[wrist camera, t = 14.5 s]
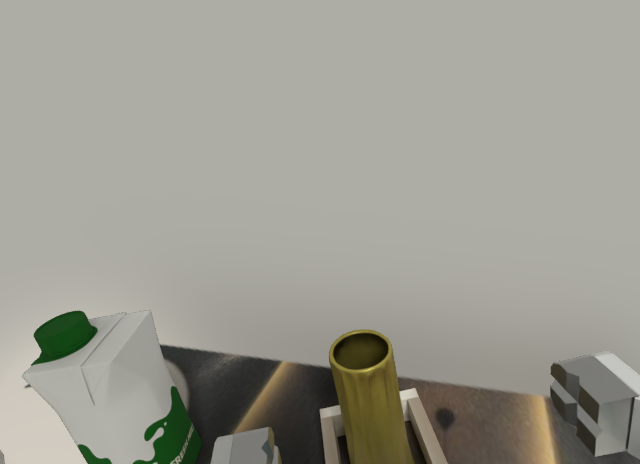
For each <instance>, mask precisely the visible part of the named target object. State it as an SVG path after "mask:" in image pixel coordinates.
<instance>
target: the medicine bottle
mask: <svg viewBox="0 0 640 464" xmlns="http://www.w3.org/2000/svg"><path fill="white" fill-rule="evenodd" d="M0 464H5V463H4V455H3V453H2V452H1V451H0Z"/></svg>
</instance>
